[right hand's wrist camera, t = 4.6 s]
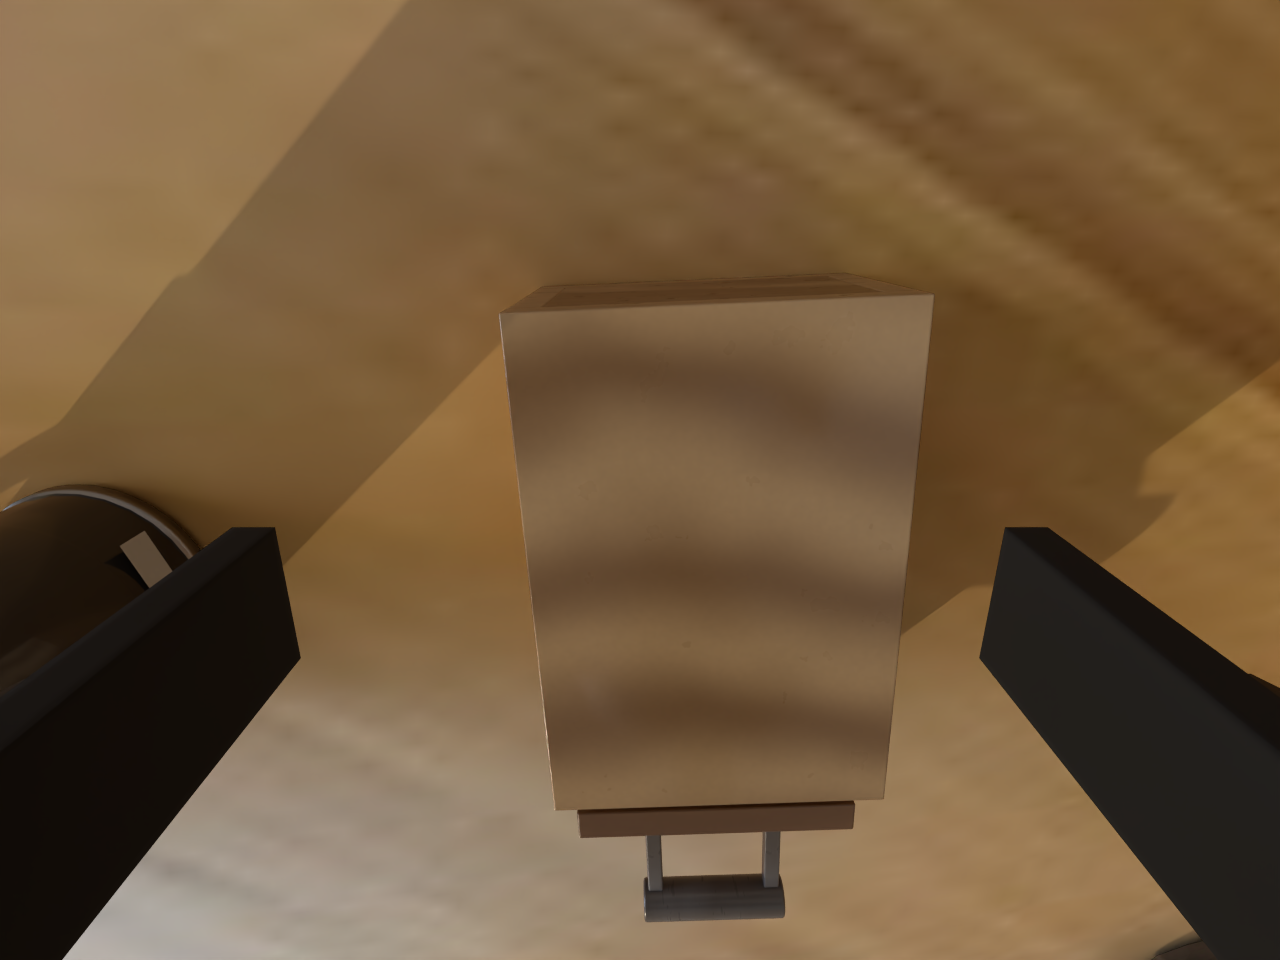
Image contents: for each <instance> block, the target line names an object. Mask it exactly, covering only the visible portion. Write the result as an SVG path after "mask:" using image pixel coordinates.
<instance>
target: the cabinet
mask: <svg viewBox="0 0 1280 960" xmlns="http://www.w3.org/2000/svg"><path fill="white" fill-rule="evenodd" d="M934 298H935V294H933V293H929V292H925V291H921V290H915V289H911V288H907V287H903V286H898V285H894V284H890V283H886V282H882V281H877V280H873V279H869V278H865V277H860V276H856V275H852V274H848V273H834V274H812V275H790V276H768V277H746V278H724V279H702V280H680V281H658V282H636V283H614V284H592V285H570V286H548V287H541V288H539V289H538V290H536V291H535V292H533V293H531V294H530V295H528V296H527V297H525V298H524V299H522V300H520V301H519V302H517V303H516V304H514V305H513V306H511V307H509V308H508V309H505V310H504V311H502V312H501V313H499V321H500V330H501V339H502V348H503V357H504V366H505V374H506V383H507V392H508V401H509V410H510V419H511V428H512V437H513V446H514V454H515V463H516V472H517V481H518V490H519V499H520V508H521V517H522V525H523V534H524V543H525V552H526V561H527V570H528V579H529V588H530V597H531V605H532V614H533V623H534V632H535V641H536V650H537V659H538V668H539V677H540V685H541V694H542V703H543V712H544V721H545V730H546V739H547V748H548V756H549V765H550V774H551V783H552V792H553V801H554V809H555V810H582V809H612V808H641V807H671V806H701V805H731V804H761V803H790V802H820V801H850V800H880V799H884V791H885V781H886V771H887V761H888V751H889V742H890V732H891V722H892V712H893V702H894V692H895V682H896V673H897V663H898V653H899V643H900V633H901V623H902V613H903V604H904V594H905V584H906V574H907V564H908V554H909V544H910V535H911V525H912V515H913V505H914V495H915V485H916V476H917V466H918V456H919V446H920V436H921V426H922V416H923V407H924V397H925V387H926V377H927V367H928V357H929V347H930V338H931V328H932V318H933V308H934Z"/></svg>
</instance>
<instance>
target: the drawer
mask: <svg viewBox="0 0 1280 960" xmlns="http://www.w3.org/2000/svg"><path fill="white" fill-rule="evenodd" d="M854 811H855V803H854V801H853V800H850V801H820V802H790V803H761V804H731V805H701V806H671V807H641V808H612V809H582V810H578V811H577V817H578V828H579V836H580V838H594V837H624V836H646V853H647V871H648V877H645V878H644V915H645V921H646V922H672V921H704V920H736V919H768V918H783V917H784V916H785V898H784V890H783V884H782V880H781V877H780V874H779V858H780V831H806V830H836V829H853V823H854ZM745 832H763V845H762V874H732V875H701V876H670V877H663V872H662V849H661V835H685V834H715V833H745Z"/></svg>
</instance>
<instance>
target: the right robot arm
mask: <svg viewBox="0 0 1280 960" xmlns="http://www.w3.org/2000/svg"><path fill="white" fill-rule="evenodd" d="M300 658H301V657H300V652H299V647H298V642H297V637H296V632H295V627H294V622H293V617H292V612H291V607H290V601H289V596H288V591H287V586H286V581H285V576H284V571H283V566H282V561H281V556H280V551H279V546H278V541H277V536H276V531H275V527H232V528H231V529H229V530H228V531H227V532H225V533H224V534H223V535H221V536H220V537H218V538H217V539H216V540H214V541H213V542H212V543H210V544H209V545H208V546H206V547H205V548H203V549H202V550H201V551H199V552H198V553H197V554H195V555H194V556H192V557H191V558H190V559H188V560H187V561H186V562H184V563H183V564H182V565H180V566H179V567H177V568H176V569H175V570H173V571H172V572H171V573H169V574H168V575H167V576H165V577H164V578H162V579H161V580H160V581H158V582H157V583H156V584H154V585H153V586H152V587H150V588H149V589H147V590H146V591H145V592H143V593H142V594H141V595H139V596H138V597H137V598H135V599H134V600H132V601H131V602H130V603H128V604H127V605H126V606H124V607H123V608H122V609H120V610H119V611H117V612H116V613H115V614H113V615H112V616H111V617H109V618H108V619H107V620H105V621H104V622H102V623H101V624H100V625H98V626H97V627H96V628H94V629H93V630H91V631H90V632H89V633H87V634H86V635H85V636H83V637H82V638H81V639H79V640H78V641H76V642H75V643H74V644H72V645H71V646H70V647H68V648H67V649H66V650H64V651H63V652H61V653H60V654H59V655H57V656H56V657H55V658H53V659H52V660H51V661H49V662H48V663H46V664H45V665H44V666H42V667H41V668H40V669H38V670H37V671H36V672H34V673H33V674H31V675H30V676H29V677H27V678H26V679H24V680H22V681H20V682H18V683H16V684H14V685H12V686H10V687H8V688H6V689H4V690H2V691H0V960H62V959H63V958H64V957H65V956H66V954H67V953H68V952H69V950H70V949H71V948H72V947H73V945H74V944H75V943H76V942H77V940H78V939H79V938H80V937H81V935H82V934H83V933H84V931H85V930H86V929H87V928H88V926H89V925H90V924H91V923H92V921H93V920H94V919H95V918H96V916H97V915H98V914H99V913H100V911H101V910H102V909H103V907H104V906H105V905H106V904H107V902H108V901H109V900H110V899H111V897H112V896H113V895H114V894H115V892H116V891H117V890H118V888H119V887H120V886H121V885H122V883H123V882H124V881H125V880H126V878H127V877H128V876H129V875H130V873H131V872H132V871H133V869H134V868H135V867H136V866H137V864H138V863H139V862H140V861H141V859H142V858H143V857H144V856H145V854H146V853H147V852H148V851H149V849H150V848H151V847H152V845H153V844H154V843H155V842H156V840H157V839H158V838H159V837H160V835H161V834H162V833H163V832H164V830H165V829H166V828H167V826H168V825H169V824H170V823H171V821H172V820H173V819H174V818H175V816H176V815H177V814H178V813H179V811H180V810H181V809H182V807H183V806H184V805H185V804H186V802H187V801H188V800H189V799H190V797H191V796H192V795H193V794H194V792H195V791H196V790H197V789H198V787H199V786H200V785H201V783H202V782H203V781H204V780H205V778H206V777H207V776H208V775H209V773H210V772H211V771H212V770H213V768H214V767H215V766H216V764H217V763H218V762H219V761H220V759H221V758H222V757H223V756H224V754H225V753H226V752H227V751H228V749H229V748H230V747H231V746H232V744H233V743H234V742H235V740H236V739H237V738H238V737H239V735H240V734H241V733H242V732H243V730H244V729H245V728H246V727H247V725H248V724H249V723H250V721H251V720H252V719H253V718H254V716H255V715H256V714H257V713H258V711H259V710H260V709H261V708H262V706H263V705H264V704H265V702H266V701H267V700H268V699H269V697H270V696H271V695H272V694H273V692H274V691H275V690H276V689H277V687H278V686H279V685H280V684H281V682H282V681H283V680H284V678H285V677H286V676H287V675H288V673H289V672H290V671H291V670H292V668H293V667H294V666H295V665H296V663H297V662H298V661H299V659H300ZM979 658H980V659H981V661H982V662H983V663H984V665H985V666H986V667H987V668H988V670H989V671H990V672H991V673H992V675H993V676H994V677H995V678H996V680H997V681H998V682H999V684H1000V685H1001V686H1002V687H1003V689H1004V690H1005V691H1006V692H1007V694H1008V695H1009V696H1010V697H1011V699H1012V700H1013V701H1014V702H1015V704H1016V705H1017V706H1018V708H1019V709H1020V710H1021V711H1022V713H1023V714H1024V715H1025V716H1026V718H1027V719H1028V720H1029V721H1030V723H1031V724H1032V725H1033V727H1034V728H1035V729H1036V730H1037V732H1038V733H1039V734H1040V735H1041V737H1042V738H1043V739H1044V740H1045V742H1046V743H1047V744H1048V746H1049V747H1050V748H1051V749H1052V751H1053V752H1054V753H1055V754H1056V756H1057V757H1058V758H1059V759H1060V761H1061V762H1062V763H1063V764H1064V766H1065V767H1066V768H1067V770H1068V771H1069V772H1070V773H1071V775H1072V776H1073V777H1074V778H1075V780H1076V781H1077V782H1078V783H1079V785H1080V786H1081V787H1082V789H1083V790H1084V791H1085V792H1086V794H1087V795H1088V796H1089V797H1090V799H1091V800H1092V801H1093V802H1094V804H1095V805H1096V806H1097V807H1098V809H1099V810H1100V811H1101V813H1102V814H1103V815H1104V816H1105V818H1106V819H1107V820H1108V821H1109V823H1110V824H1111V825H1112V826H1113V828H1114V829H1115V830H1116V832H1117V833H1118V834H1119V835H1120V837H1121V838H1122V839H1123V840H1124V842H1125V843H1126V844H1127V845H1128V847H1129V848H1130V849H1131V851H1132V852H1133V853H1134V854H1135V856H1136V857H1137V858H1138V859H1139V861H1140V862H1141V863H1142V864H1143V866H1144V867H1145V868H1146V869H1147V871H1148V872H1149V873H1150V875H1151V876H1152V877H1153V878H1154V880H1155V881H1156V882H1157V883H1158V885H1159V886H1160V887H1161V888H1162V890H1163V891H1164V892H1165V894H1166V895H1167V896H1168V897H1169V899H1170V900H1171V901H1172V902H1173V904H1174V905H1175V906H1176V907H1177V909H1178V910H1179V911H1180V913H1181V914H1182V915H1183V916H1184V918H1185V919H1186V920H1187V921H1188V923H1189V924H1190V925H1191V926H1192V928H1193V929H1194V930H1195V931H1196V933H1197V934H1198V935H1199V937H1200V938H1201V939H1202V940H1203V942H1204V943H1205V944H1206V945H1207V947H1208V948H1209V949H1210V950H1211V952H1212V953H1213V954H1214V956H1215V957H1216V958H1217V959H1218V960H1280V688H1279V687H1277V686H1275V685H1273V684H1270V683H1268V682H1266V681H1264V680H1262V679H1260V678H1258V677H1256V676H1254V675H1252V674H1247V673H1246V672H1244V671H1243V670H1242V669H1240V668H1239V667H1238V666H1236V665H1235V664H1234V663H1232V662H1231V661H1229V660H1228V659H1227V658H1225V657H1224V656H1223V655H1221V654H1220V653H1219V652H1217V651H1216V650H1214V649H1213V648H1212V647H1210V646H1209V645H1208V644H1206V643H1205V642H1204V641H1202V640H1201V639H1199V638H1198V637H1197V636H1195V635H1194V634H1193V633H1191V632H1190V631H1189V630H1187V629H1186V628H1184V627H1183V626H1182V625H1180V624H1179V623H1178V622H1176V621H1175V620H1173V619H1172V618H1171V617H1169V616H1168V615H1167V614H1165V613H1164V612H1163V611H1161V610H1160V609H1158V608H1157V607H1156V606H1154V605H1153V604H1152V603H1150V602H1149V601H1148V600H1146V599H1145V598H1143V597H1142V596H1141V595H1139V594H1138V593H1137V592H1135V591H1134V590H1133V589H1131V588H1130V587H1128V586H1127V585H1126V584H1124V583H1123V582H1122V581H1120V580H1119V579H1118V578H1116V577H1115V576H1113V575H1112V574H1111V573H1109V572H1108V571H1107V570H1105V569H1104V568H1103V567H1101V566H1100V565H1098V564H1097V563H1096V562H1094V561H1093V560H1092V559H1090V558H1089V557H1088V556H1086V555H1085V554H1083V553H1082V552H1081V551H1079V550H1078V549H1077V548H1075V547H1074V546H1072V545H1071V544H1070V543H1068V542H1067V541H1066V540H1064V539H1063V538H1062V537H1060V536H1059V535H1057V534H1056V533H1055V532H1053V531H1052V530H1051V529H1049V528H1048V527H1005V531H1004V536H1003V541H1002V546H1001V551H1000V556H999V561H998V566H997V571H996V576H995V581H994V586H993V591H992V596H991V601H990V607H989V612H988V617H987V622H986V627H985V632H984V637H983V642H982V647H981V652H980V657H979Z"/></svg>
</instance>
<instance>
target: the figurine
mask: <svg viewBox="0 0 1280 960" xmlns="http://www.w3.org/2000/svg"><path fill="white" fill-rule="evenodd" d="M1152 960H1218V959H1217V958H1216V957H1215V956H1214V954H1213V953H1212V952H1211V950H1210V949H1209V948H1208V947H1207V945H1206V944H1205V943H1204V942H1203V941H1201V942H1197V943H1193V944H1189V945H1185V946H1183V947H1180V948H1177V949H1174V950H1172V951H1169V952H1166V953H1163V954H1161V955H1158V956H1156V957H1155V958H1153V959H1152Z"/></svg>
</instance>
